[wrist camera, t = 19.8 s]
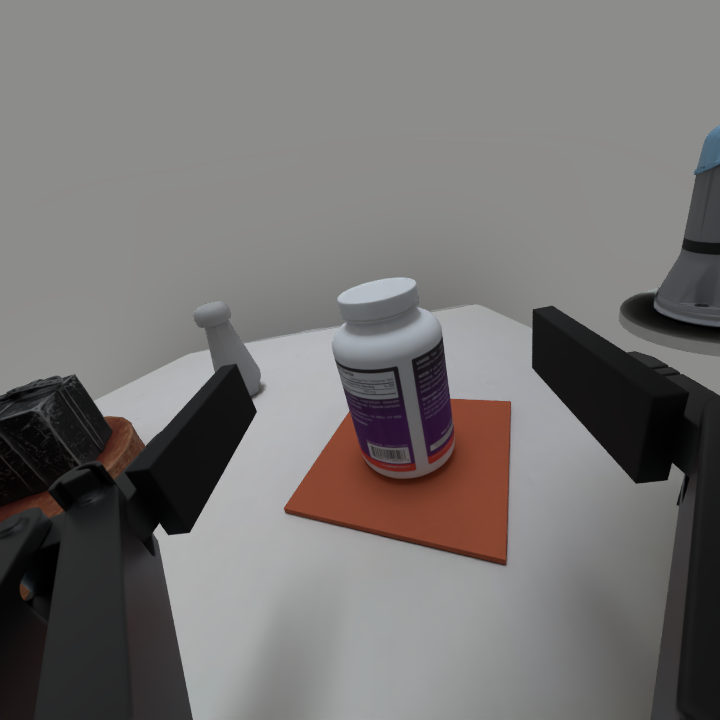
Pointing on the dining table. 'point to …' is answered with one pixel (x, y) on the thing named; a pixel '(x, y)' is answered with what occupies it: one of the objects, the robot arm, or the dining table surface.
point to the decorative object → (55, 442)
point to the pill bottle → (394, 378)
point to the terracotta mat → (421, 488)
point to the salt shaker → (227, 343)
